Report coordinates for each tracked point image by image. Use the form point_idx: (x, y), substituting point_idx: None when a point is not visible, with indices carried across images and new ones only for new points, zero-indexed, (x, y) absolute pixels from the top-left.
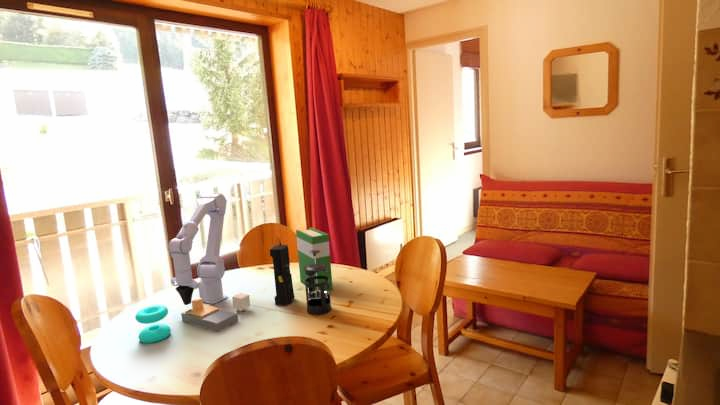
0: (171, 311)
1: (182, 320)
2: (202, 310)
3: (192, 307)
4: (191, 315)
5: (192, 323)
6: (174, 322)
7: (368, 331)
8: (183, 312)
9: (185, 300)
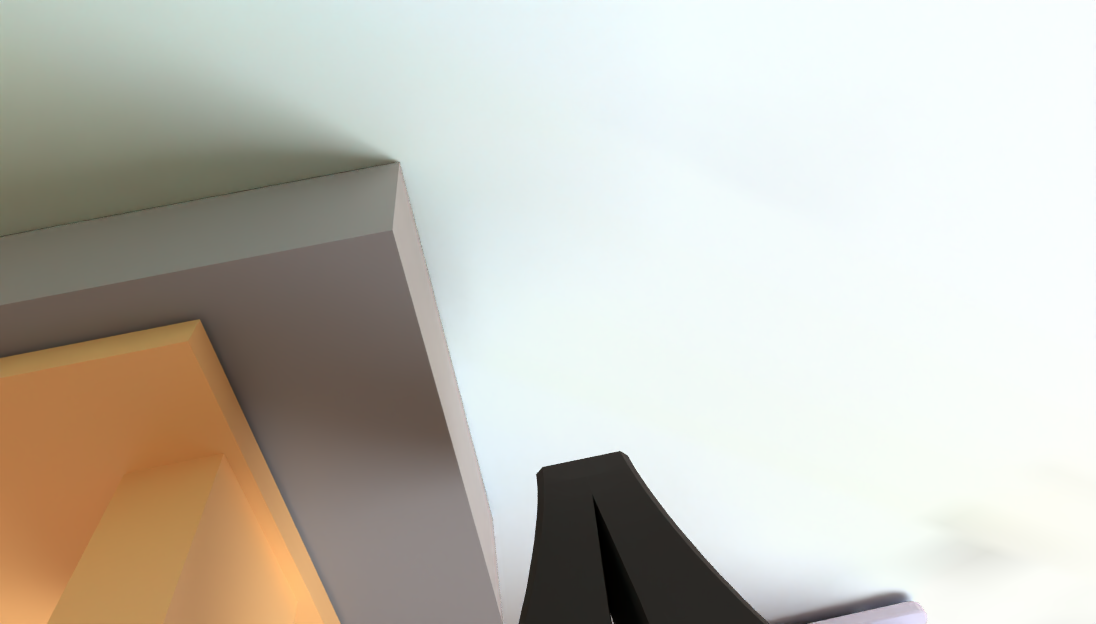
0: (1015, 226)
1: (385, 169)
2: (26, 567)
3: (204, 505)
4: (18, 331)
5: (42, 232)
6: (471, 24)
7: None
8: (402, 287)
9: (533, 564)
